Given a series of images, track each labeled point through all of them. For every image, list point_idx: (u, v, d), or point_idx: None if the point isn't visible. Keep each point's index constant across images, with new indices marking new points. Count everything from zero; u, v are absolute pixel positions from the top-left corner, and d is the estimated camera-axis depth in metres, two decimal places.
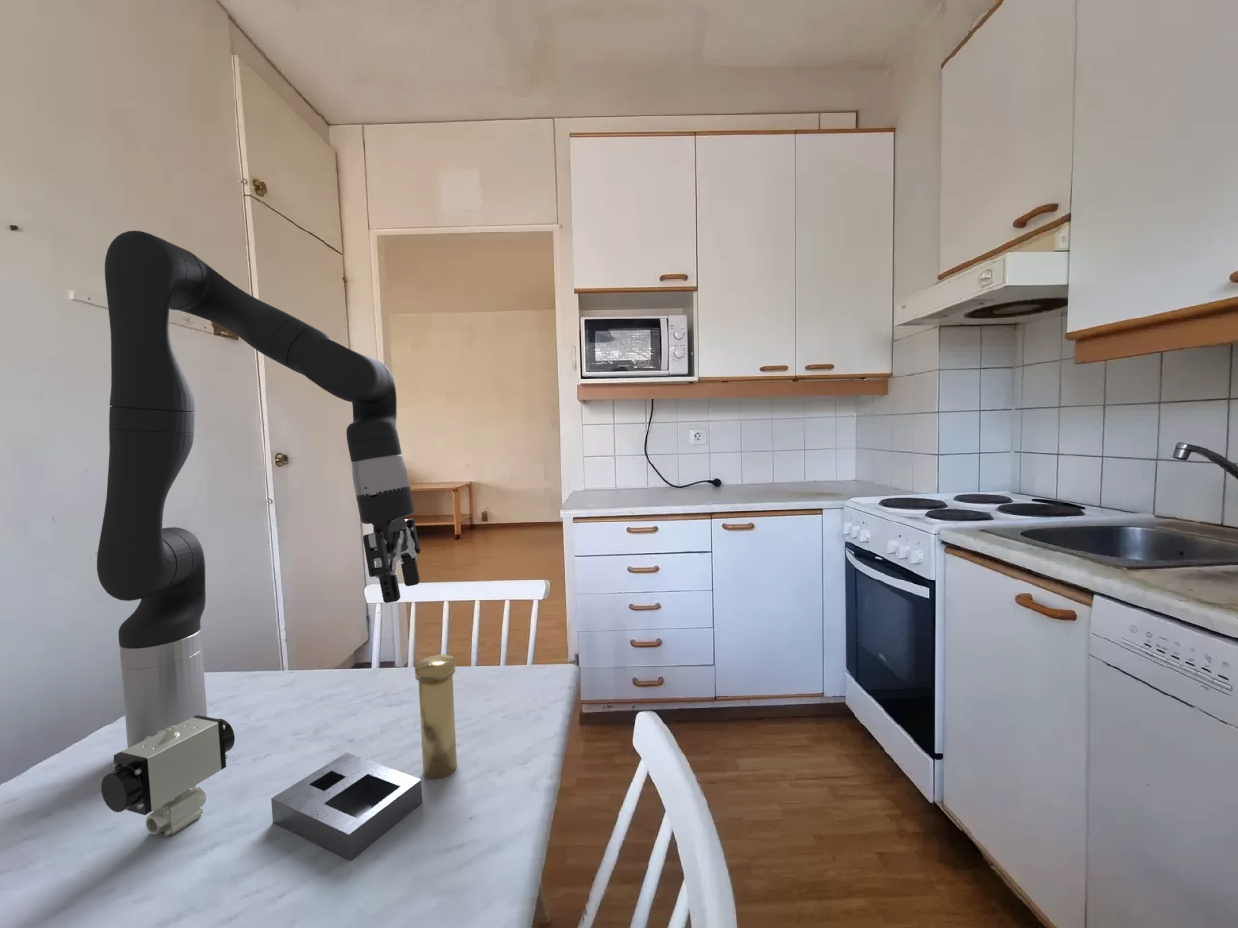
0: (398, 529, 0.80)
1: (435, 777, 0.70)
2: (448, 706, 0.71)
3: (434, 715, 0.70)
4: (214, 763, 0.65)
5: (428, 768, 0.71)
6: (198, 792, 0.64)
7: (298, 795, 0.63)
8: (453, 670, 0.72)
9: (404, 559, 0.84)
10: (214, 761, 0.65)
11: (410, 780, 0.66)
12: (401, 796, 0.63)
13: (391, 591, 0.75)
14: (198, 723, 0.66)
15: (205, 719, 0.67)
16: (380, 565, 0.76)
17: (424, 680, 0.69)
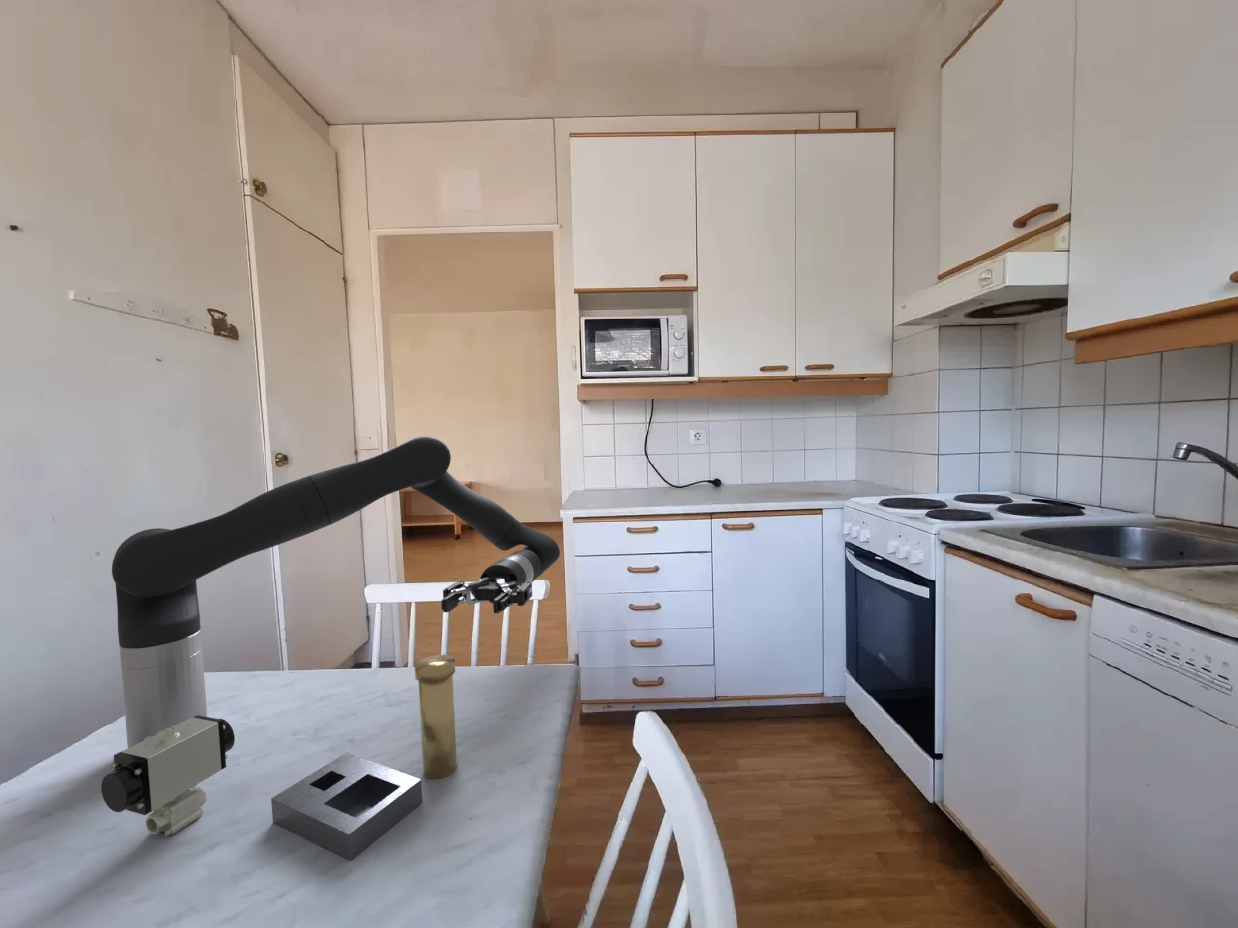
0: None
1: (435, 777, 0.70)
2: (448, 706, 0.71)
3: (433, 715, 0.70)
4: (214, 763, 0.65)
5: (428, 768, 0.71)
6: (198, 792, 0.64)
7: (298, 795, 0.63)
8: (453, 670, 0.72)
9: (457, 594, 0.88)
10: (214, 761, 0.65)
11: (410, 780, 0.66)
12: (401, 796, 0.63)
13: (505, 607, 0.83)
14: (198, 723, 0.66)
15: (205, 719, 0.67)
16: None
17: (424, 680, 0.69)
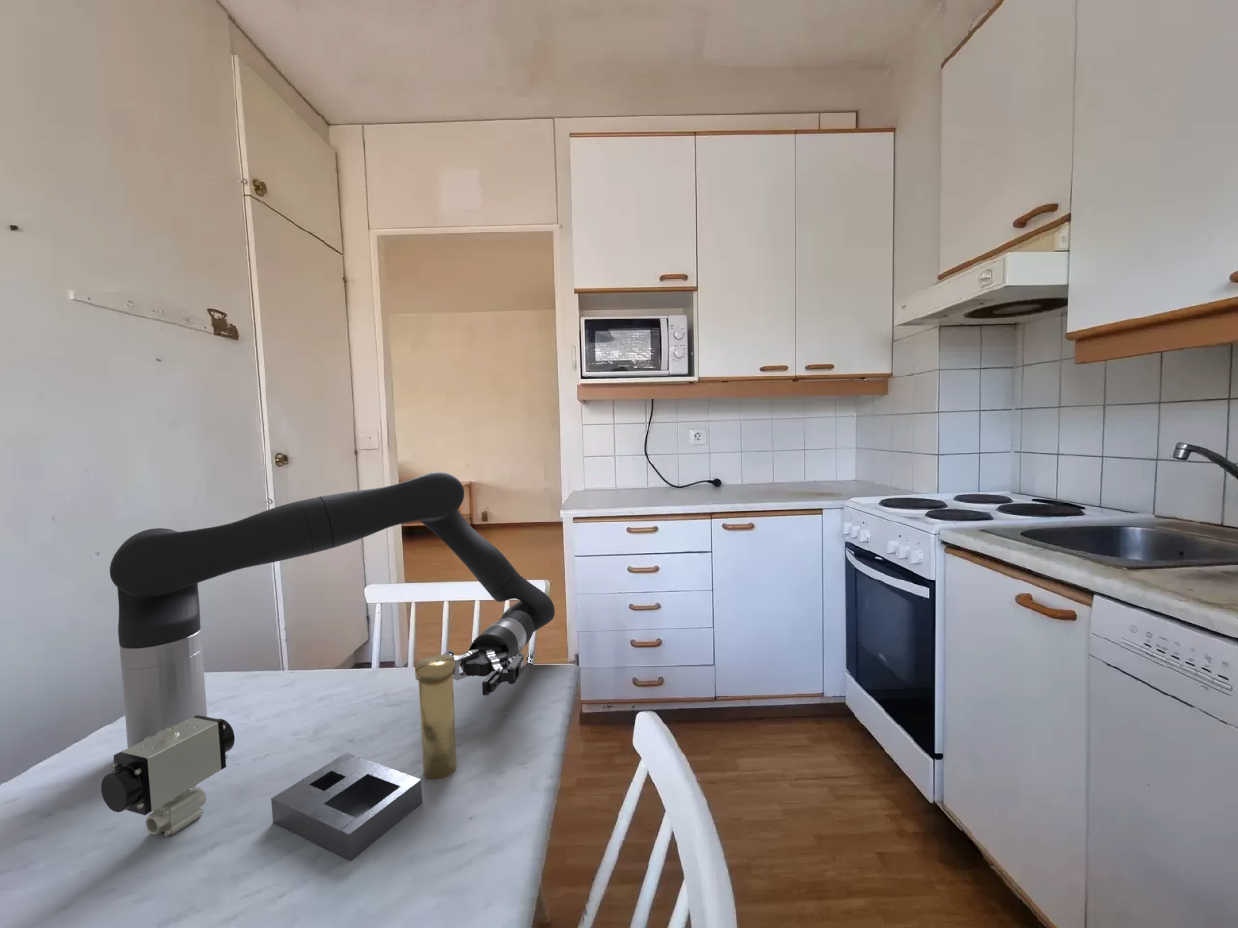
0: None
1: (435, 777, 0.70)
2: (448, 706, 0.71)
3: (433, 715, 0.70)
4: (214, 763, 0.65)
5: (428, 768, 0.71)
6: (198, 792, 0.64)
7: (298, 795, 0.63)
8: (453, 670, 0.72)
9: None
10: (214, 761, 0.65)
11: (410, 780, 0.66)
12: (401, 796, 0.63)
13: (495, 688, 0.79)
14: (198, 723, 0.66)
15: (205, 719, 0.67)
16: None
17: (424, 680, 0.69)
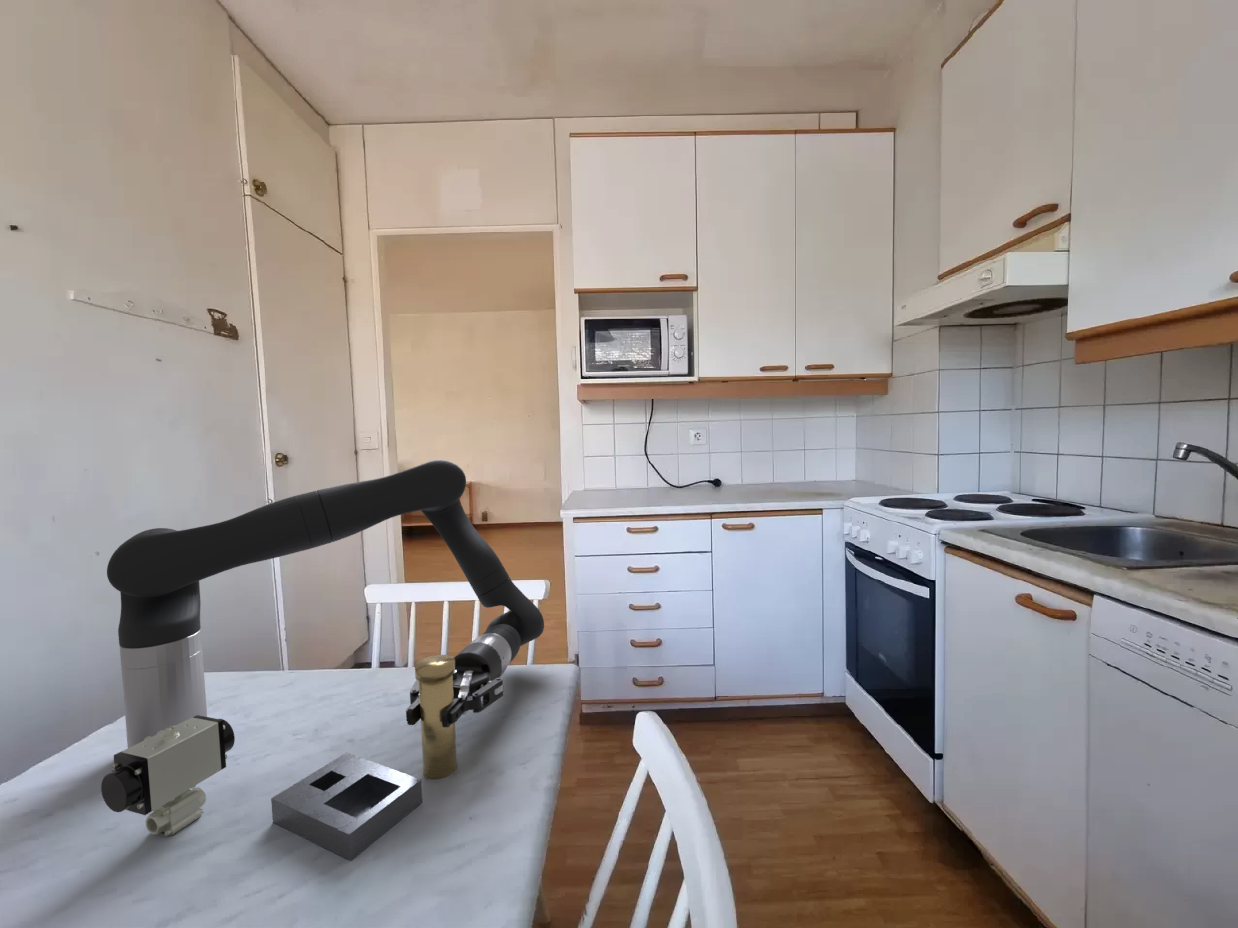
0: None
1: (435, 777, 0.71)
2: None
3: (434, 715, 0.70)
4: (214, 763, 0.65)
5: (428, 768, 0.71)
6: (198, 792, 0.64)
7: (298, 795, 0.63)
8: (453, 670, 0.72)
9: None
10: (214, 761, 0.65)
11: (410, 780, 0.66)
12: (401, 796, 0.63)
13: (457, 718, 0.71)
14: (198, 723, 0.66)
15: (205, 719, 0.67)
16: None
17: (424, 680, 0.69)
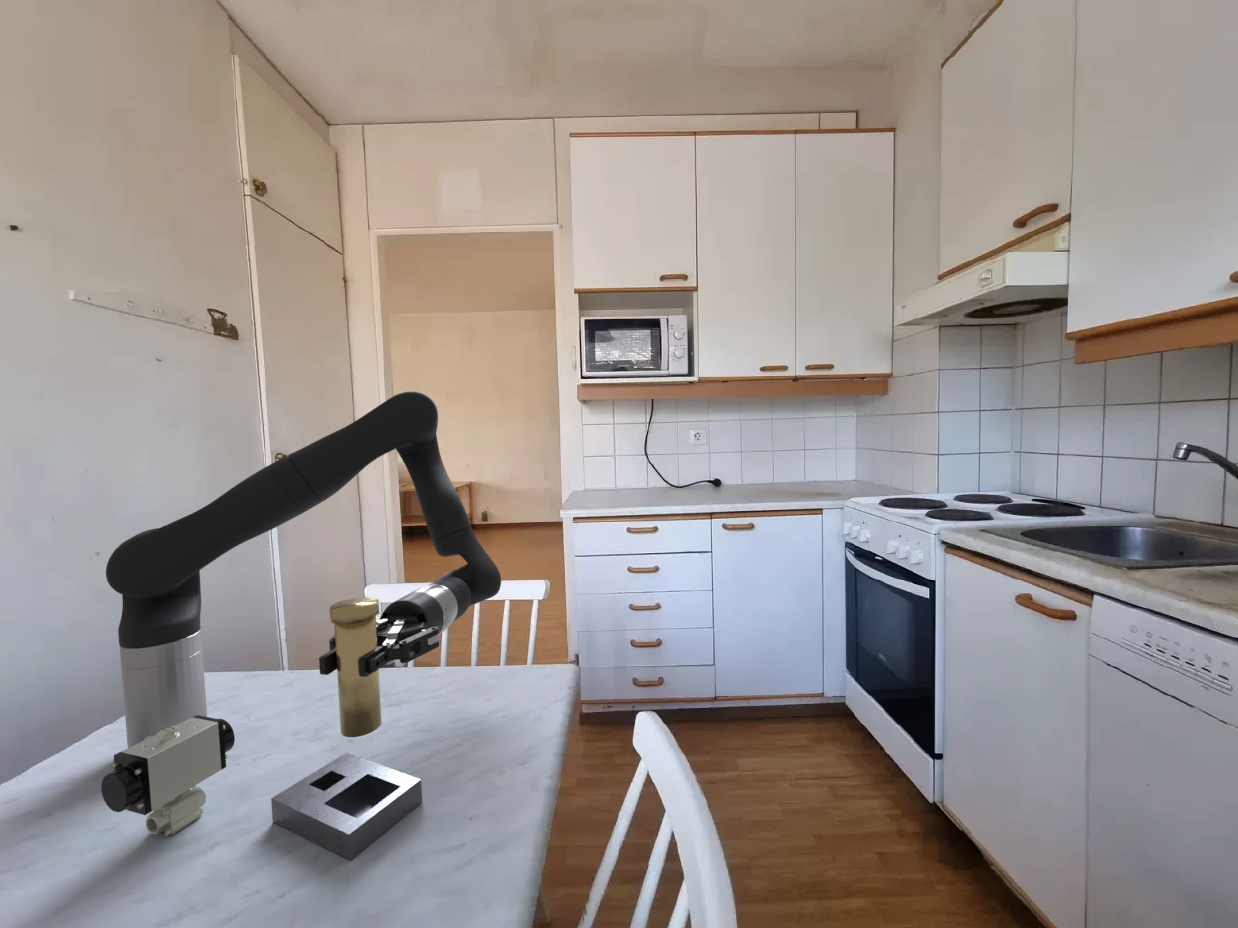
0: None
1: (353, 735, 0.61)
2: None
3: (350, 663, 0.61)
4: (214, 763, 0.65)
5: (345, 724, 0.61)
6: (198, 792, 0.64)
7: (298, 795, 0.63)
8: (375, 613, 0.62)
9: None
10: (214, 761, 0.65)
11: (410, 780, 0.66)
12: (401, 796, 0.63)
13: (378, 667, 0.61)
14: (198, 723, 0.66)
15: (205, 719, 0.67)
16: None
17: (339, 622, 0.60)
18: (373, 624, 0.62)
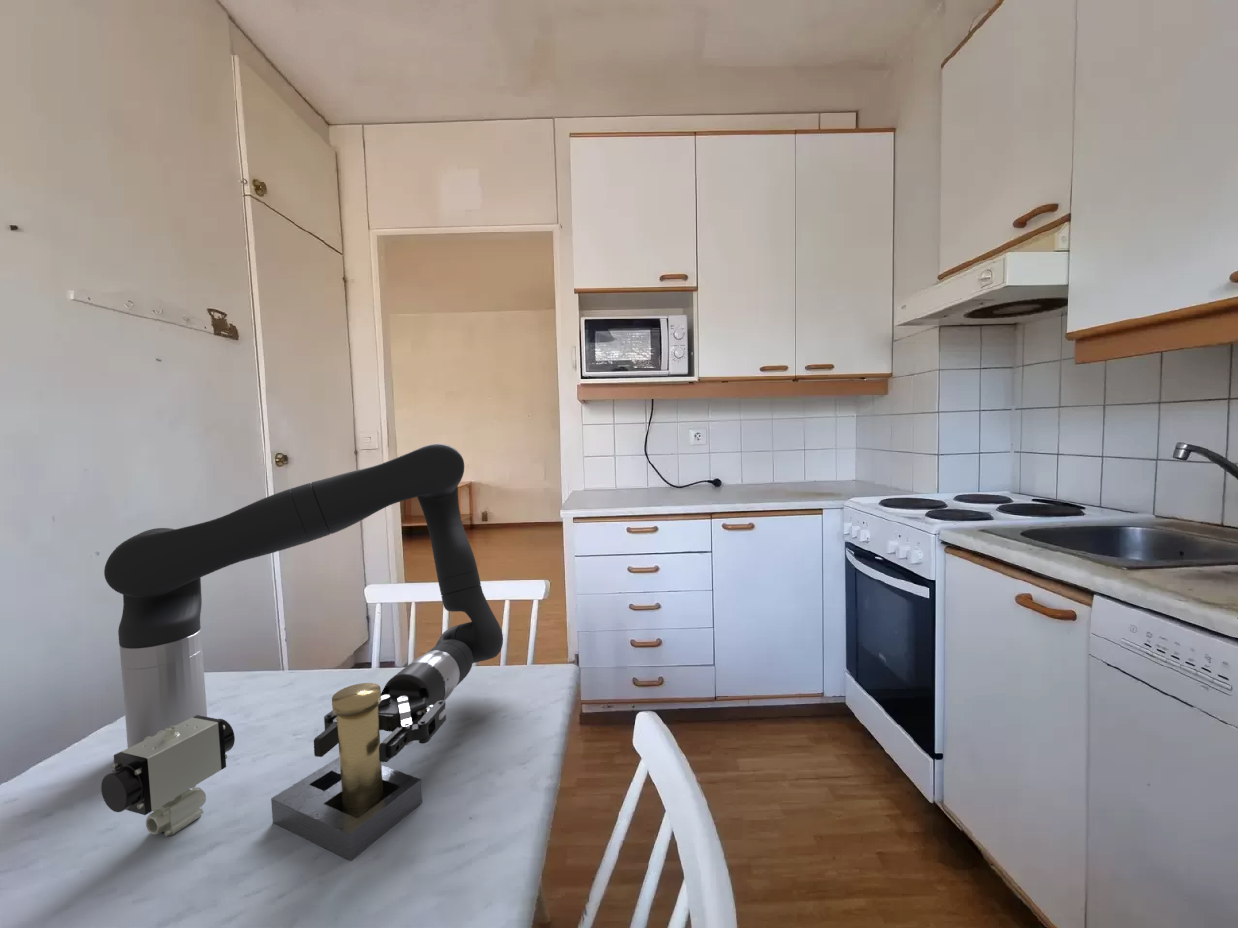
0: None
1: None
2: (372, 743, 0.62)
3: (353, 755, 0.61)
4: (214, 763, 0.65)
5: (348, 814, 0.61)
6: (198, 792, 0.64)
7: (298, 795, 0.63)
8: (377, 702, 0.62)
9: None
10: (214, 761, 0.65)
11: (410, 780, 0.66)
12: (401, 796, 0.63)
13: (398, 751, 0.62)
14: (198, 723, 0.66)
15: (205, 719, 0.67)
16: None
17: (341, 714, 0.60)
18: (375, 713, 0.63)
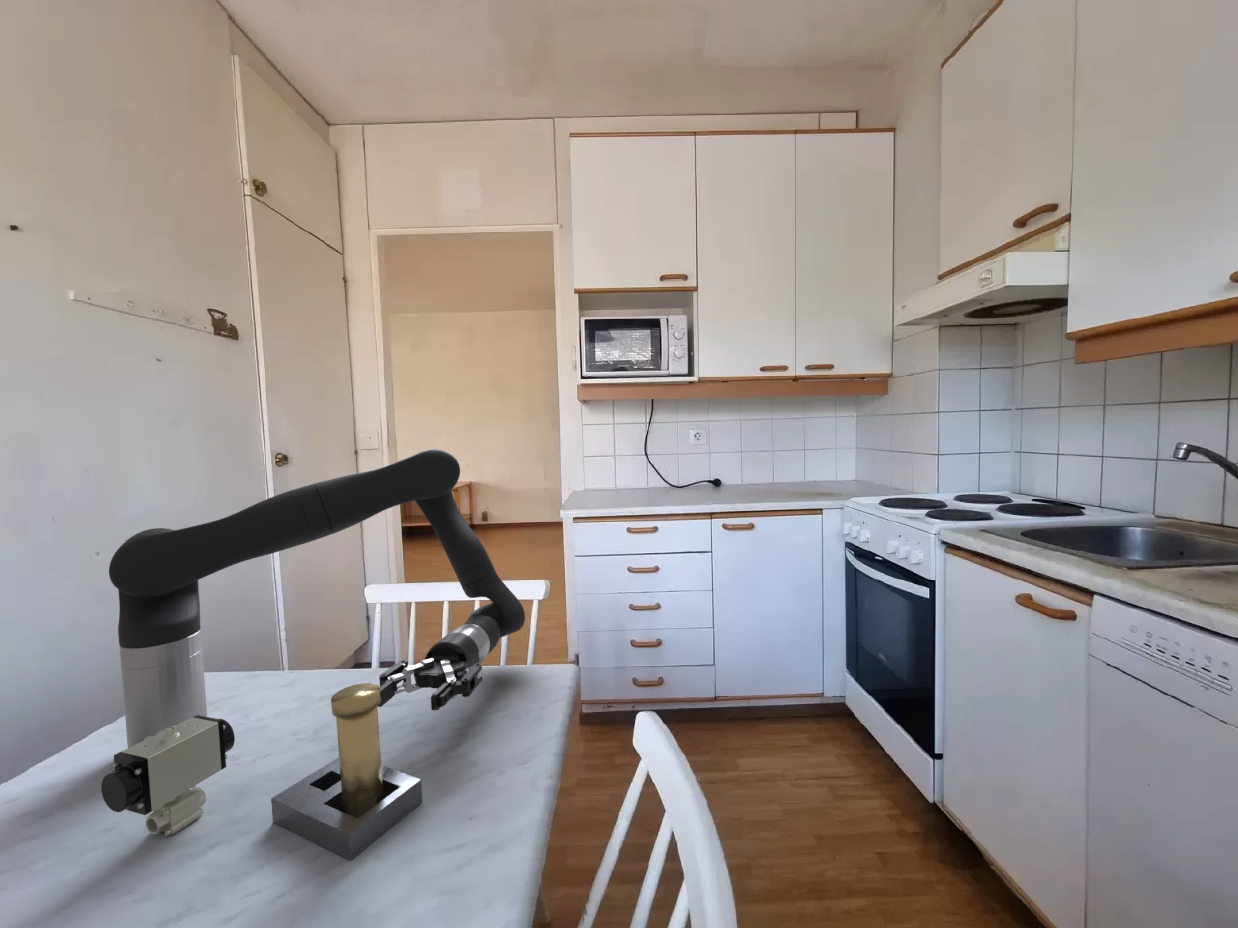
0: None
1: None
2: (371, 744, 0.62)
3: (352, 755, 0.61)
4: (214, 763, 0.65)
5: None
6: (198, 792, 0.64)
7: (298, 795, 0.63)
8: (376, 702, 0.62)
9: (395, 682, 0.77)
10: (214, 761, 0.65)
11: (410, 780, 0.66)
12: (401, 796, 0.63)
13: (446, 701, 0.73)
14: (198, 723, 0.66)
15: (205, 719, 0.67)
16: None
17: (340, 715, 0.60)
18: (374, 713, 0.63)
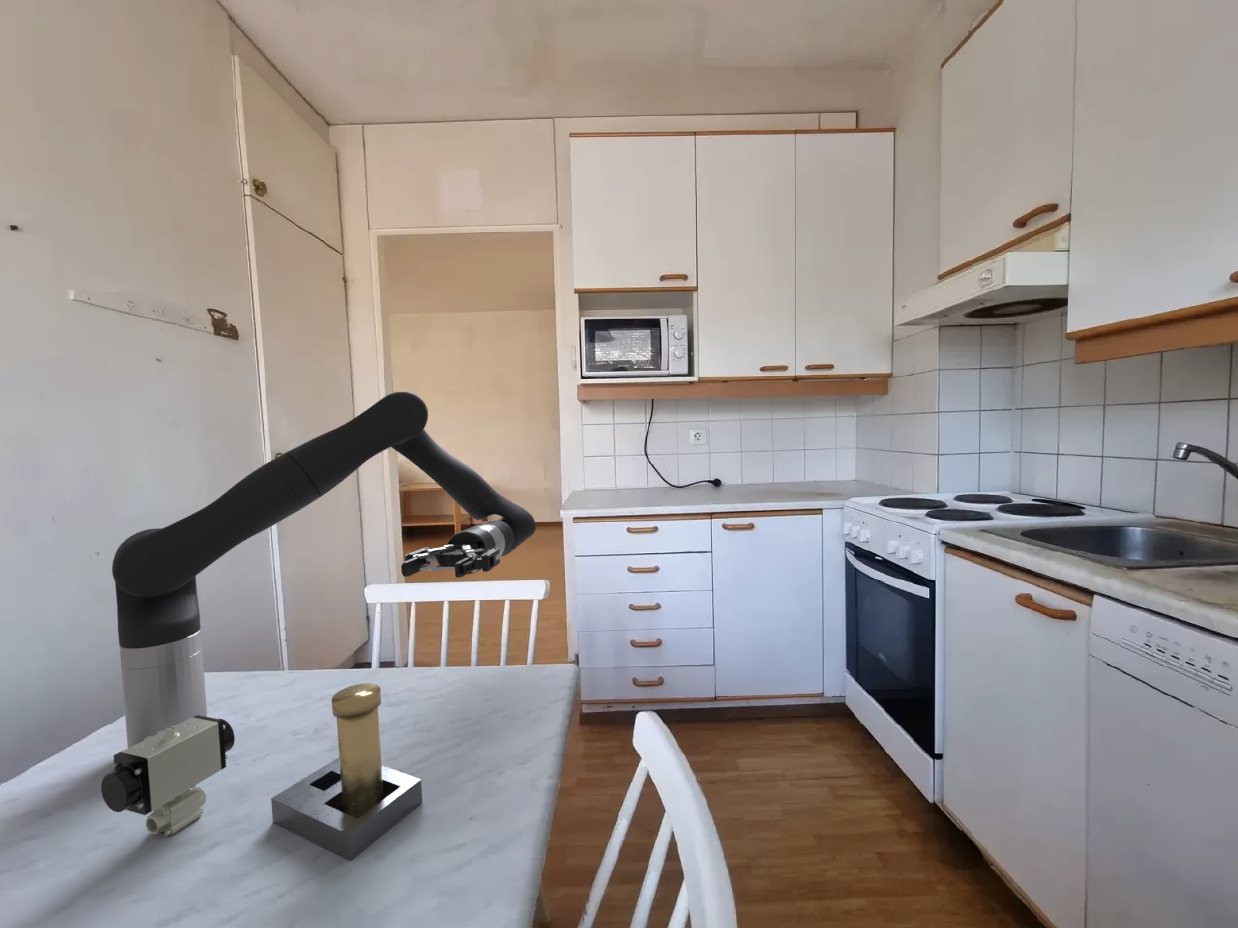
0: None
1: None
2: (371, 744, 0.62)
3: (352, 756, 0.61)
4: (214, 763, 0.65)
5: None
6: (198, 792, 0.64)
7: (298, 795, 0.63)
8: (377, 703, 0.62)
9: (420, 560, 0.83)
10: (214, 761, 0.65)
11: (410, 780, 0.66)
12: (401, 796, 0.63)
13: (468, 571, 0.79)
14: (198, 723, 0.66)
15: (205, 719, 0.67)
16: None
17: (340, 716, 0.60)
18: (375, 714, 0.62)
